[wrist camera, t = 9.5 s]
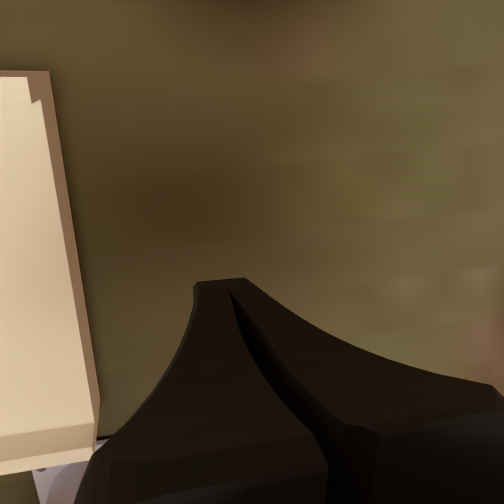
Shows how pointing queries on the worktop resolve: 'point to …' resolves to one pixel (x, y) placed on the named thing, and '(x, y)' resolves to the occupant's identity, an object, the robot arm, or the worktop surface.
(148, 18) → the worktop surface
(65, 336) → the trap box
